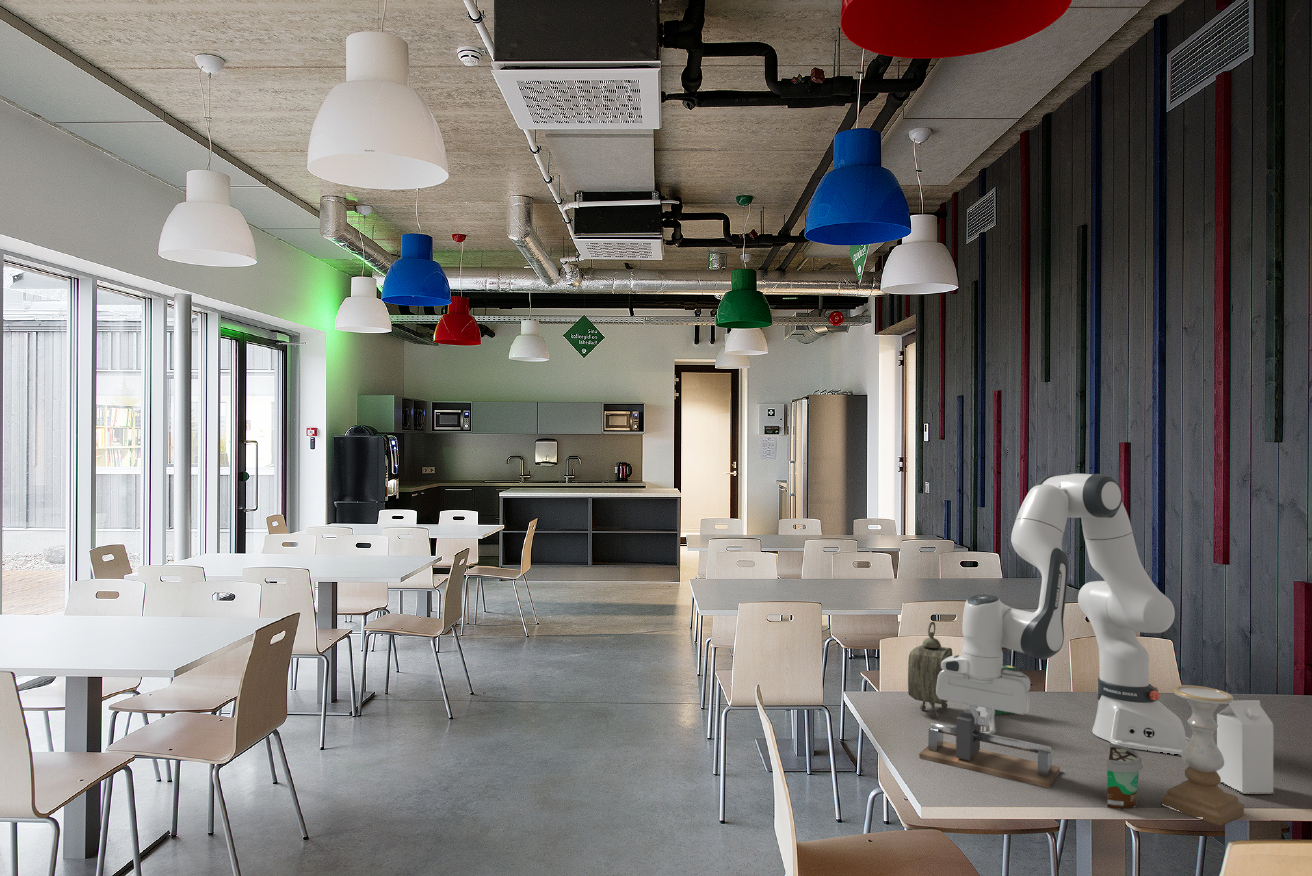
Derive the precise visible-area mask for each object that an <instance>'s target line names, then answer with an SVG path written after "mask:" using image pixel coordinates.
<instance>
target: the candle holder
mask: <svg viewBox="0 0 1312 876" xmlns="http://www.w3.org/2000/svg"><path fill="white" fill-rule="evenodd" d="M1172 691H1173V693H1174V694H1175V696H1178V697H1179V698H1182V699H1185V700H1186V702H1187V703H1188V705H1189V706H1190V707H1191V708H1190V709H1191V711H1192V713H1191V715H1190V717H1189V718H1188V719H1187V720H1186V721H1187V724H1189V726H1190V728H1191V731H1192V735H1191V737H1189V738H1190V740H1189V741H1188V742H1187V743H1186V745H1185V746H1184V747H1183V749H1182V752H1181V755H1180V756H1181V759H1182V760H1183V762H1184V763H1185V764H1186V765H1188V767H1186V768H1185V770H1184V777H1186V779H1187V780H1184V781H1182V782H1180V783H1179V784H1176V785H1175V786H1172V787H1170V788H1169V789H1168V790H1167V791H1166V792H1167V793H1166V794H1164V795H1163V796H1162V797H1161V805H1162V804H1164V805H1166V806H1170V807H1172V808H1174V809H1176V810H1179V811H1180V812H1182V813H1181V814H1183V815H1185V816H1186V815H1187V816H1188V817H1191V818H1194V817H1203V819H1199V820H1201V821H1202V822H1206V823H1209V824H1212V825H1215V826H1217V827H1218V826H1219V827H1222V826H1226V825H1227V824H1229V823H1231V822H1234V820H1235V821H1236V820H1237V819H1239V818H1240V817H1243V816H1245V805H1244V804H1243V803H1241V802H1240V801H1239V797H1238V796H1236V795H1234V794H1231V793H1229V792H1226V791H1225V790H1223V789H1222V788H1221V787H1220V786H1218V785H1220V784H1221V783H1220V782H1221V778H1220V776H1219V774H1218V773H1217V771H1218V770H1220V769H1221V768H1222V767H1223V766H1224V758H1223V755H1222V753H1221V752H1220V750H1219V749H1218V747H1217V743H1215V740H1214V737H1213V735H1214V733H1215V732H1216V730H1217V728H1218V725H1217V721H1215V718H1214V713H1215V710H1216V709H1217V708H1218V707H1219V705H1226V704H1227V705H1229V703H1231V702H1232V701H1234V696H1233V695H1232V694H1230V693H1229V692H1226V691H1224V690H1220V689H1217V688H1213V687H1212V688H1211V687H1208V686H1203V685H1202V686H1200V685H1189V684H1183V685H1175V686H1174V687H1173V688H1172ZM1180 812H1179V813H1180Z"/></svg>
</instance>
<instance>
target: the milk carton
mask: <svg viewBox="0 0 1312 876" xmlns="http://www.w3.org/2000/svg"><path fill="white" fill-rule="evenodd" d="M1216 723H1217V725H1218V728H1216V746H1217V747H1218V749H1219V750H1220V752H1221V753H1222V755H1223V758H1224V766H1223V767H1222V768H1221V769H1220V770H1218V771H1216V772H1217V773H1218V774H1219V776H1220V778H1221V782H1224V783H1225V784H1227V785H1228V786H1231V787H1232V788H1234V789H1237V790H1239V791H1241V792H1243V793H1247V792H1248V793H1249V792H1273V793H1274V723H1273V722H1272V720H1271V718H1270V717H1269V716H1268V714H1267V713H1266V711H1265V710H1264V709H1263V707H1262V706H1261V701H1260V700H1259V699H1257V700H1253V699H1251V700H1247V699H1246V700H1233V701H1232V702H1231V703H1229V704H1228V706H1226V707H1225V708H1224V709H1222V710H1221V711H1219V712H1218V713H1217V714H1216Z"/></svg>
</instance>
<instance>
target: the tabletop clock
mask: <svg viewBox="0 0 1312 876" xmlns="http://www.w3.org/2000/svg"><path fill="white" fill-rule="evenodd" d="M932 626H933V631H931V628H932ZM927 632H928V633H927V634H928V637H927V638H925V639H924V640H922V641H923V642H922V644H921V645H919V646H916V647H915V648H913V649H912V650H911V651H910V652H909V653H908V663H907V664H908V665H907V666H908V667H907V690H908V692H907V693H908V696H910V698H912V699H914V700H915V701H921V702H922V704H920V705H919V709H920V710H921V709H922V710H921V711H925V710H926V703H929V705H930V706H931V709H932V711H933V712H932V717H933V718H934V719H938V718H939V713H938V712H937V711H936V707H935V705H936V704H937V705H941V707H942V708H943V709H947V708H948V704H947V703H948V702H949V701H948V700H942V699H939V698H938V696H937V694H936V686H937V679H938V675H939V673H940V672H941V671H942V670H943V669H942V668H941V662H942V661H943V660H944V659H946V658H947V657H950V656H953V649H952V647H945V646H942V645H941V642H940V641H939V639H937V638H935V637H934V636H935V634H936V622H934V621H930V623H929V625H928V628H927Z"/></svg>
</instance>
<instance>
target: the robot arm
mask: <svg viewBox="0 0 1312 876" xmlns="http://www.w3.org/2000/svg"><path fill="white" fill-rule="evenodd" d="M1122 490H1123V489H1122V488H1121V486H1120V485H1119V483H1118V482H1117V480H1116V479H1114V478H1113V477H1112V476H1109V475H1105V474H1101V473H1095V474H1092V473H1091V474H1090V473H1070V474H1063V475H1061V474H1060V475H1049V476H1048V475H1047V476H1044V477H1042V478H1040V479H1039V480H1037V481H1036V482H1035V484H1034V485H1033V487H1032V488H1030V489H1029V491H1028V492H1027V495H1026V496H1025V497H1024V500H1023V501H1022V504H1021V506H1020V508H1019V509H1018V513H1017V515H1016V518H1015V521H1014V524H1013V527H1012V531H1011V536H1010V540H1011V541H1010V542H1011V545H1012V547H1013V550H1014V551H1015V553H1017V555H1018V556H1019V557H1020V558H1021V559H1022V560H1024V561H1026V562H1027V563H1029V564H1030V565H1032V566H1033V567H1035V568H1037V570H1038V571H1039V573H1040V575H1041V586H1040V592H1039V594H1040V595H1039V600H1038V607H1037V609H1036V610H1035V611H1034V612H1031V611H1027V610H1022V609H1018V608H1015V607H1011V606H1009V605H1007V604H1005V603H1003V602H1002V601H1001V599H1000V597H998V596H996V595H993V594H988V593H987V594H986V593H985V594H984V593H983V594H975V595H972V596H970V597H968V598H967V599H966V601H965V603H964V608H963V613H962V626H961V627H962V628H961V630H962V631H961V632H962V637H963V645H962V649H961V654H957V655H956V654H955V655H952V656H950V657H947V658H946V659H944V660H943V661H942V662H941V668H942V669H943V670H942V671H941V672H940V673H939V675H938V679H937V686H936V694H937V696H938V698H939V699H942V700H948V701H947V702H952V703H953V702H955V703H958V704H965V705H968V706H969V708H968V709H970V711H971V713H972V715H973V717H974V724H975V725H979V726H984V727H988V726H989V718H990V717H991V715H992V714H993V712H994V709H995V710H1000V711H1006V712H1011V713H1015V714H1017V715H1022V716H1024V715H1025V714H1027V713H1028V712H1029V710H1030V708H1031V707H1030V695H1029V691H1030V689H1031V679H1030V677H1029V676H1028V675H1027V674H1024V672H1022V671H1018V670H1017V671H1012V670H1006V669H1003V666H1004V665H1003V661H1004V660H1003V659H1004V657H1003V656H1004V653H1003V649H1002V648H1004V649H1007V650H1010V651H1015V652H1018V653H1022V654H1024V655H1028V656H1030V657H1033V658H1035V659H1039V660H1047V659H1048V660H1049V659H1050V658H1052V657H1053V656H1056V654H1058V653H1059V651H1061V649H1062V648H1063V645H1064V640H1065V629H1064V617H1065V616H1064V615H1065V608H1066V598H1067V591H1068V581H1069V569H1070V566H1069V557H1068V556H1067V554H1066V553H1065V552H1064V551H1063V536H1064V533H1065V530H1066V526H1067V521H1068V518H1071V519H1072V518H1073V519H1077V518H1079V519H1080V520H1081V525H1082V526H1081V527H1082V533H1083V538H1084V542H1085V547H1086V552H1087V556H1088V561H1089V564H1090V565H1091V567H1092V569H1094V571H1095V572H1096V573H1097V574H1098V575H1100V576H1101V578H1102V579H1103V580H1096V581H1095V580H1094V581H1089V582H1086V583H1085V584H1084V585H1082V586H1081V588H1080V589H1079V591H1078V595H1077V603H1078V607H1079V609H1080V610H1081V611H1082V612H1083V614H1084V615H1085V616H1086V617H1087V619H1088V621H1089V623H1090V624H1091V627H1092V629H1093V633H1094V635H1095V639H1096V642H1097V643H1096V644H1097V646H1098V657H1099V658H1098V659H1099V660H1098V663H1099V664H1098V665H1099V667H1098V668H1099V676H1098V678H1097V682H1096V696H1097V700H1098V703H1097V711H1096V716H1095V720H1094V723H1093V726H1092V729H1091V730H1092V731H1091V732H1092V734H1093V735H1095V736H1096V737H1099V738H1101V739H1102V740H1105V741H1107V742H1110V743H1112V744H1116V745H1120V746H1124V747H1128V748H1129V749H1132V750H1133V749H1135V750H1142V751H1147V750H1148V751H1147V752H1155V753H1160V752H1163V753H1162V754H1167V753H1170V754H1169V755H1174V754H1181V752H1182V749H1183V747H1184V746H1185V745H1186V743H1187V742H1188V741H1189V740H1190V738H1191V737H1187V736H1186V731H1185V727H1184V725H1183V722H1182V720H1181V718H1180V717H1179V716H1178V715H1176V714H1175V713H1174V712H1173V711H1171V710H1170V709H1169V708H1168V707H1167V706H1165V705H1164V704H1163V703H1162V702H1160V701H1159V698H1160V692H1159V689H1158V687H1157V686H1154V685H1152V684H1151V683H1150V656H1149V655H1150V654H1149V653H1148V651H1147V649H1146V648H1145V647H1144V646H1143V645H1142V644H1141V642H1140V641H1139V639H1138V637H1137V635H1136V633H1135V632H1138V633H1146V634H1148V633H1149V634H1161V633H1164V632H1166V631H1168V629H1170V627H1171V626H1172V625H1173V623H1174V620H1175V617H1176V616H1175V615H1176V612H1175V607H1174V604H1173V602H1172V601H1171V599H1170V598H1169V597H1167V596H1166V595H1165V594H1164V593H1163V592H1161V591H1160V590H1159V588H1158V587H1157V586H1156V585H1155V583H1154V582H1153V581H1152V579H1151V577H1150V576H1149V575H1148V573H1147V572H1146V570H1145V568H1144V566H1143V563H1142V561H1141V559H1140V557H1139V556H1140V555H1139V553H1138V549H1137V545H1136V540H1135V538H1134V537H1135V536H1134V532H1133V529H1132V524H1131V522H1130V518H1129V515H1128V512H1127V510H1126V507H1125V506H1124V503H1123V492H1122ZM978 706H979V707H985V708H986V712H987V713H988V714H987V716H986V717H981V716H979V714H978V712H977V710H976V709H977V708H978Z"/></svg>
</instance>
